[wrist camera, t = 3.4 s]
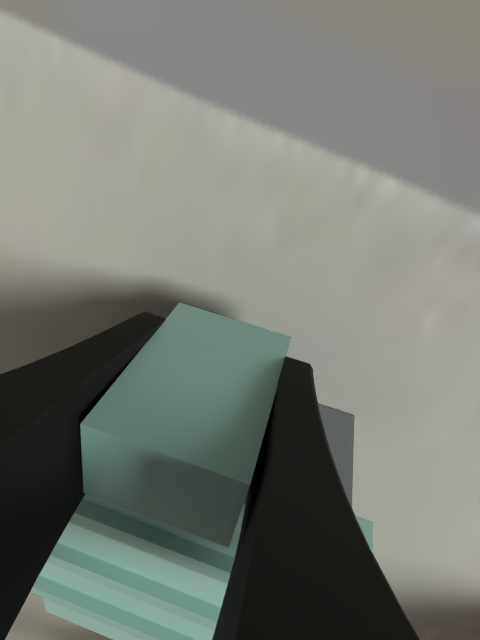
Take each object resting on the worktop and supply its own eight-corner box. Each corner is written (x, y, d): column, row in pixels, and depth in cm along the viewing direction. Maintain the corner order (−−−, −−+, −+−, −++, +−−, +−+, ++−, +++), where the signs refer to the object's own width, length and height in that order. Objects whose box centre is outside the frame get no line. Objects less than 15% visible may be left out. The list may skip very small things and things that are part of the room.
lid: (414, 375, 10) (445, 555, 6) (274, 618, 18) (251, 759, 14) (71, 268, 11) (-78, 367, 7) (85, 543, 19) (18, 656, 15)
